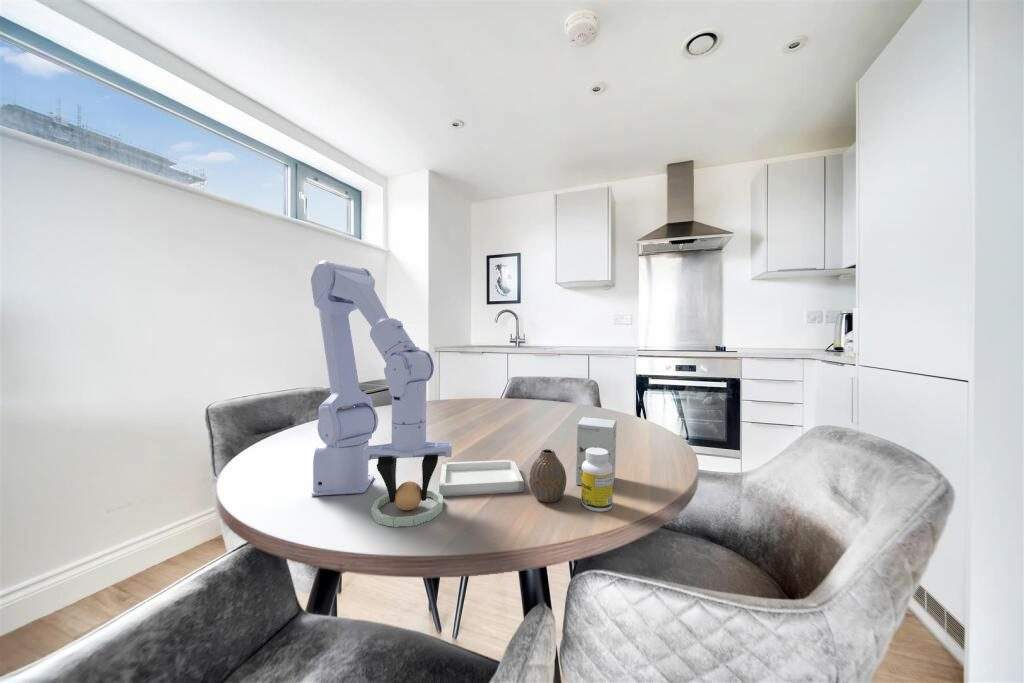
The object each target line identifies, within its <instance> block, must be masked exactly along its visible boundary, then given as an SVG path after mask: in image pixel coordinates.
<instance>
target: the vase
mask: <svg viewBox="0 0 1024 683" xmlns="http://www.w3.org/2000/svg"><path fill="white" fill-rule="evenodd" d="M530 467H531V468H530V470H529V474H528V481H529V488H530V491H531V493H532V494H533V496H534V497H535V498H536V499H537V500H538V501H539V502H542V503H548V504H549V503H551V504H552V503H555V502H557V501H559V499H561V498H562V497H563V495H564V493H565V490H566V488H567V472H566V469H565V467H564V464H563V463H562V462H561V460H560V459H559V457H558V456H557V455H556V452H555V450H553V449H550V448H549V449H548V448H546V449H545V448H544V449H542V450H541V452H540V454H539V455H538V456H537V458H536V459H535V461H534V462H533V463H532V465H531V466H530Z"/></svg>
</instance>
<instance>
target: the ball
mask: <svg viewBox="0 0 1024 683" xmlns="http://www.w3.org/2000/svg"><path fill="white" fill-rule="evenodd" d="M421 487H422V486H421V485H420V484H419V483H417V482H415V481H412V480H410V481H405V482H403V483H402V484H400V485H399V486H398V487H397V488H396V493H395V501H394V503H395V504H396V506H397V507H398V508H399V509H400V510H403V511H412V510H414V509H416V508H417V507H418V506H419V505H420V503H422V499H421V495H422V489H421Z"/></svg>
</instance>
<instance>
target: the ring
mask: <svg viewBox="0 0 1024 683" xmlns="http://www.w3.org/2000/svg"><path fill="white" fill-rule="evenodd" d="M420 487H421V489H422V486H420ZM429 497H431V498H430V499H432V498H433V499H432V500H434V501H435V502H436V503H437V502H438V503H437V504H435V505H434V506H433V507H432V508H430V509H429V510H427V511H425V512H424V511H423V512H421V513H418V514H414V515H409V516H408V515H407V516H406V515H405V516H392V515H388V514H385V513H382V512H381V511H380V509H381V507H383V506H384V505H386V504H387V503H389V502H390V499H389V494H388V492H386V493H385V494H383V495H381V496H380V497H378V498H376V499H375V500H374V502H373V504H372V506H371V509H370V512H371V517H372V519H373V520H374V521H375V522H376V524H379V525H382V524H383V525H382V526H387V527H389V526H392V527H391V528H400V527H399V526H407V527H414V525H415V526H418V525H420V523H421V524H424V523H426V521H427V522H429V521H432V520H434V519H435V518H436V517H437V516H438V515H440V514H441V513H442V512H443V509H444V508H443V507H444V497H443V495H441V494H440V493H439V491H437V490H436V489H431V488H428V489H427V497H426V498H429ZM388 501H389V502H388ZM386 502H387V503H386ZM385 503H386V504H385ZM383 504H384V505H383ZM382 505H383V506H382ZM380 506H381V507H380ZM434 517H435V518H434ZM423 522H424V523H423ZM417 524H418V525H417ZM393 526H394V527H393Z"/></svg>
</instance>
